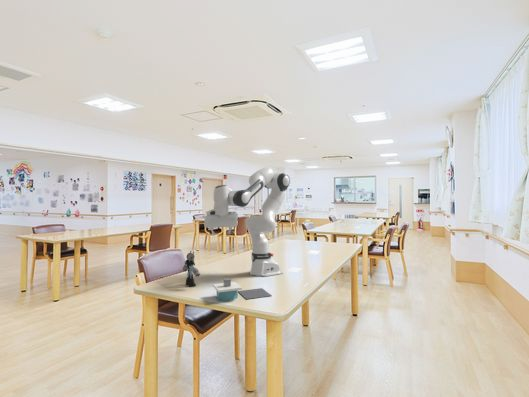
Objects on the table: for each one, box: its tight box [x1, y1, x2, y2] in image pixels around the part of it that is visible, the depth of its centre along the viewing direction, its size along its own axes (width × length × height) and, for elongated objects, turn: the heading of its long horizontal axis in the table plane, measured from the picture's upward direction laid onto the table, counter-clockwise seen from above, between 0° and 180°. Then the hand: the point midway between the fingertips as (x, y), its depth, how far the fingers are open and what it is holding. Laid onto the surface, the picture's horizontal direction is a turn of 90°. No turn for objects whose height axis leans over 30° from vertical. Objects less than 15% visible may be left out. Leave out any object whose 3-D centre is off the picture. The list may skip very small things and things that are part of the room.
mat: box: [238, 287, 272, 300], centre depth 162 cm, size 14×14×1 cm
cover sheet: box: [212, 277, 243, 293], centre depth 156 cm, size 12×12×4 cm
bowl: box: [216, 290, 239, 302], centre depth 156 cm, size 10×10×5 cm
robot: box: [182, 250, 201, 288], centre depth 179 cm, size 20×5×20 cm, turn 38°
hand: (221, 234), depth 184 cm, fingers open, 8 cm apart
